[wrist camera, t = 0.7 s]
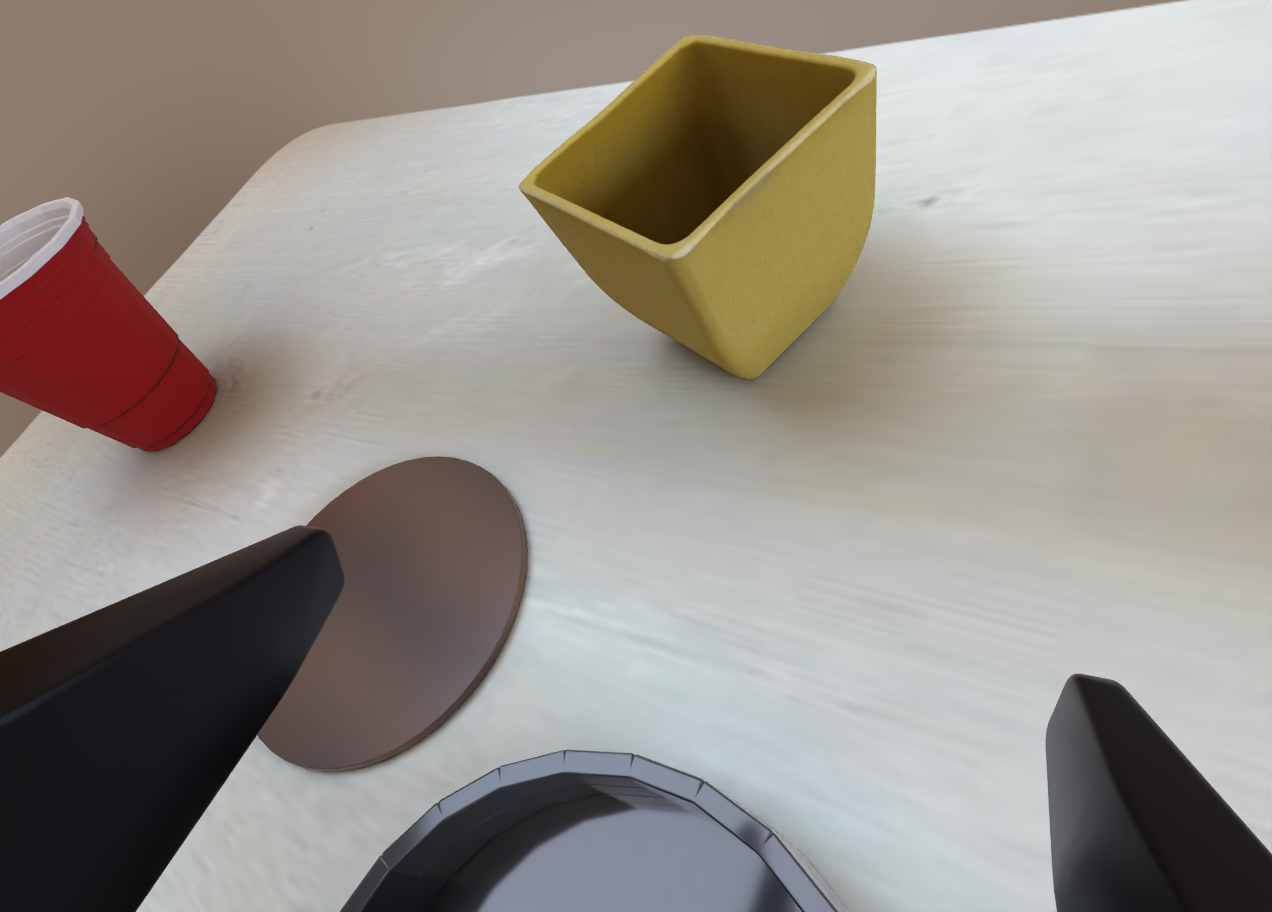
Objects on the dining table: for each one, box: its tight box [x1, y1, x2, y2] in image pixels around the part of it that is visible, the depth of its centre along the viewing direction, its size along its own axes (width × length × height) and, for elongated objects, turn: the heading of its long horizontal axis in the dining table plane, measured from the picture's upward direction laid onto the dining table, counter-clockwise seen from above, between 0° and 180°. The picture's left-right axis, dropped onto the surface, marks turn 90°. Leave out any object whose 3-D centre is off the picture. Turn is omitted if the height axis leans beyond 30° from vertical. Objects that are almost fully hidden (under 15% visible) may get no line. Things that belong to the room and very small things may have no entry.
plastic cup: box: [0, 197, 217, 451], centre depth 39 cm, size 11×11×12 cm
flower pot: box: [519, 35, 877, 380], centre depth 26 cm, size 9×9×9 cm
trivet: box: [257, 457, 527, 771], centre depth 29 cm, size 13×13×1 cm
